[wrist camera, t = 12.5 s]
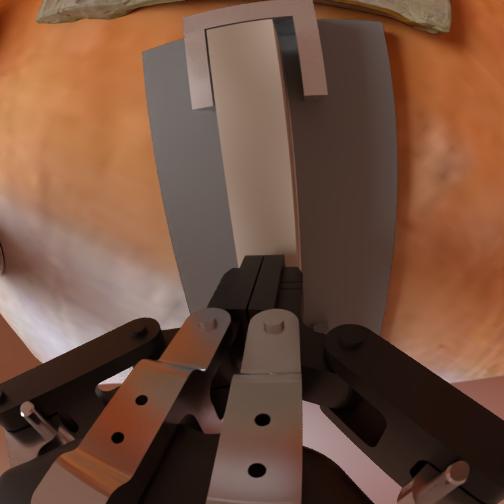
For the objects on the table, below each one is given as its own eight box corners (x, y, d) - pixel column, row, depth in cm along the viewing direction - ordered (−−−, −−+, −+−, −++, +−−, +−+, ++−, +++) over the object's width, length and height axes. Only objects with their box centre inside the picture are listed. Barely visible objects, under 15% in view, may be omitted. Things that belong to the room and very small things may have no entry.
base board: (210, 352, 24) (205, 363, 23) (153, 55, 14) (142, 52, 13) (370, 353, 21) (372, 366, 20) (375, 29, 11) (381, 21, 10)
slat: (270, 351, 21) (260, 403, 16) (235, 56, 12) (206, 30, 8) (303, 351, 20) (299, 404, 16) (282, 50, 12) (272, 18, 8)
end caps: (251, 367, 22) (244, 395, 19) (203, 33, 12) (182, 18, 9) (324, 368, 21) (324, 397, 18) (310, 19, 11) (312, -3, 8)
